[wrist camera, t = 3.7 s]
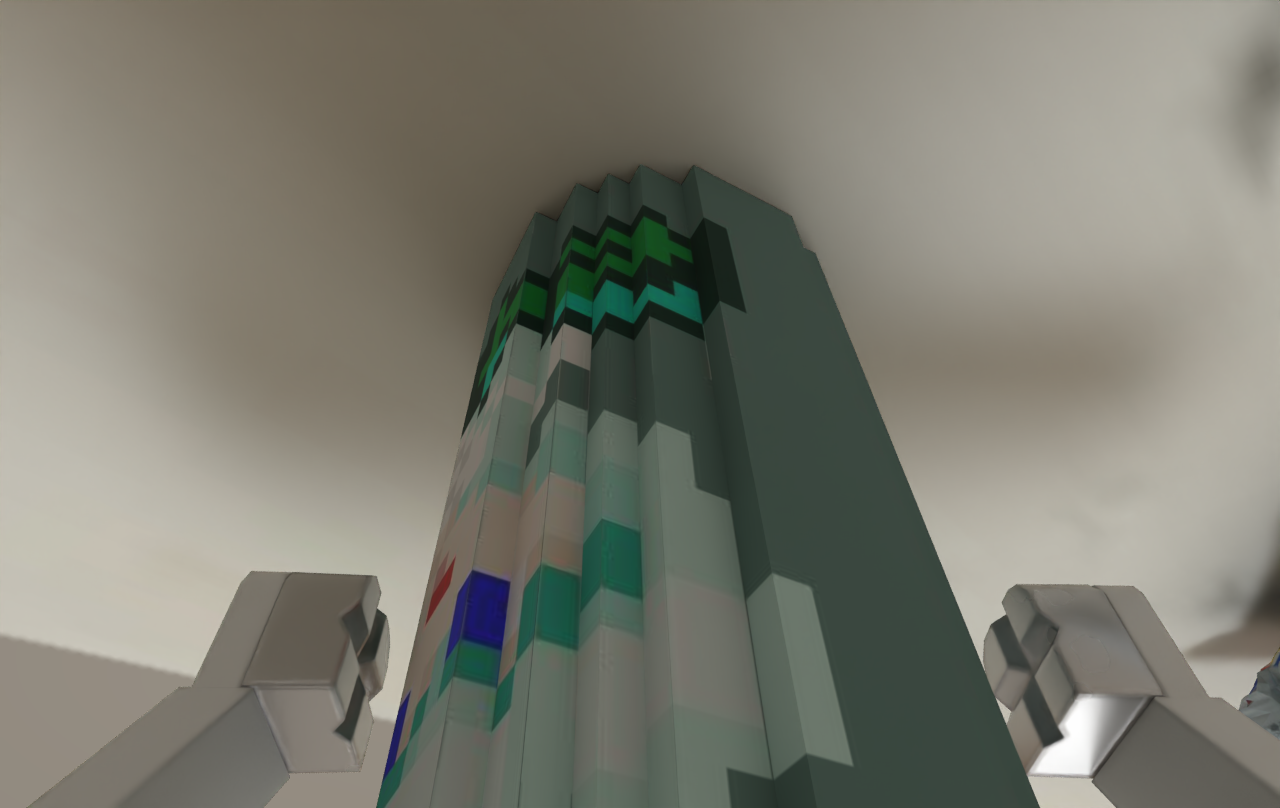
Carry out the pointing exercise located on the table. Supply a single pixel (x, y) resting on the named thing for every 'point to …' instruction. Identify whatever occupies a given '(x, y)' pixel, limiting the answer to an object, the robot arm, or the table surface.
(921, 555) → the can
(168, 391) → the table surface
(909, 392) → the table surface
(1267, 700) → the packaged food
